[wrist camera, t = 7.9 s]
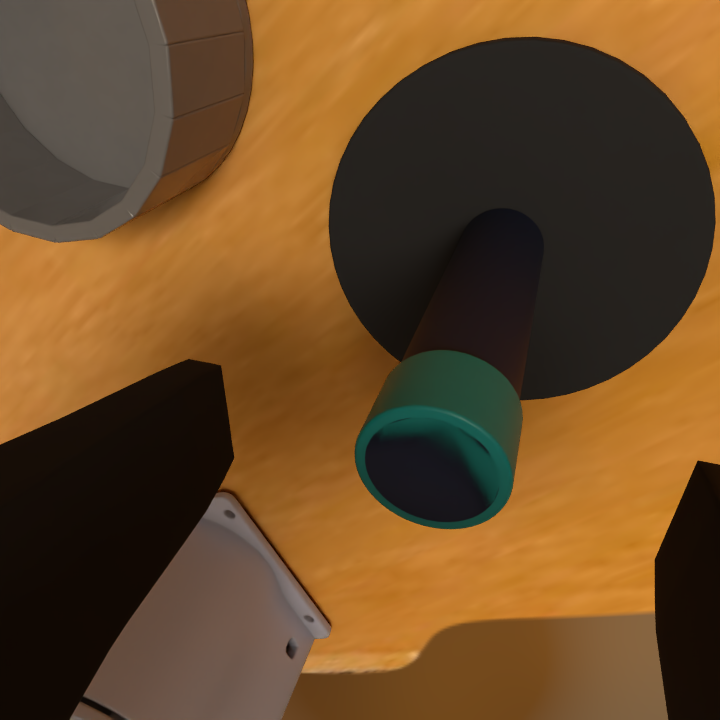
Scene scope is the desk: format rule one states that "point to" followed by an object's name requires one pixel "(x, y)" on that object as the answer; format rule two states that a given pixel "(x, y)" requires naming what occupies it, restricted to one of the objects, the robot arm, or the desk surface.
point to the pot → (114, 107)
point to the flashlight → (459, 384)
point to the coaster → (529, 201)
